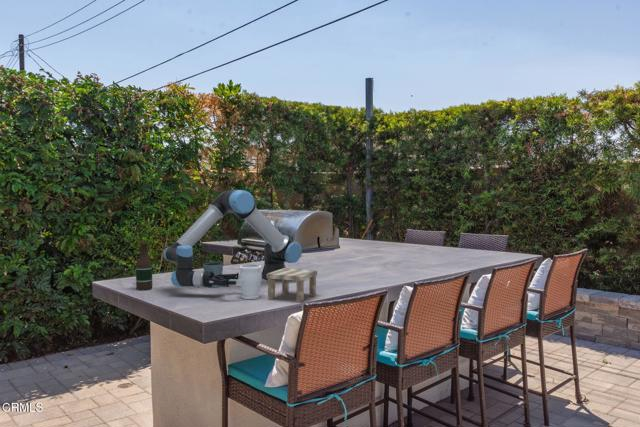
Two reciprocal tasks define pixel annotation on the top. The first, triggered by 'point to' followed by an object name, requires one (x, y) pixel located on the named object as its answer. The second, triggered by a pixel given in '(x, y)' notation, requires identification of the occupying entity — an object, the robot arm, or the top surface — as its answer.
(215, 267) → the teal plant pot
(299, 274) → the stool
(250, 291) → the jar
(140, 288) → the beer bottle
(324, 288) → the top surface
